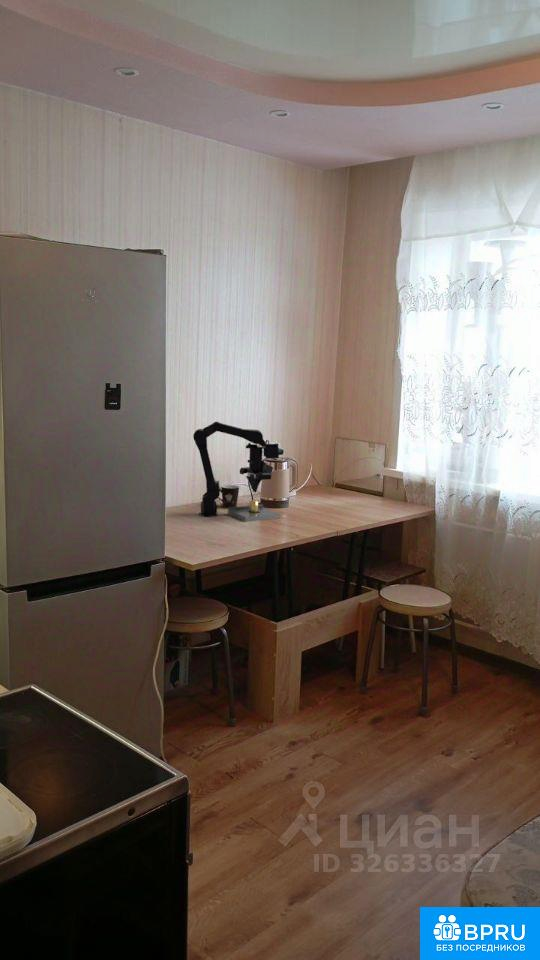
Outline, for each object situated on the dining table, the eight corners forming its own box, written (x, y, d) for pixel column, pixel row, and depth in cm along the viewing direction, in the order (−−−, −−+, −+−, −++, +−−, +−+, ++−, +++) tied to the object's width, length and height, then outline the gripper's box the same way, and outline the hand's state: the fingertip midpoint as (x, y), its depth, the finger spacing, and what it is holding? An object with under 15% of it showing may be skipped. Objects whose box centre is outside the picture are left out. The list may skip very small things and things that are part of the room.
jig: (245, 521, 345) (245, 514, 344) (227, 514, 358) (228, 507, 358) (279, 518, 355) (279, 511, 354) (261, 511, 368) (261, 504, 367)
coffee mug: (242, 507, 376) (242, 486, 374) (231, 509, 368) (232, 489, 367) (222, 503, 382) (223, 483, 380) (212, 506, 374) (212, 485, 373)
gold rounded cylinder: (252, 517, 354) (252, 502, 352) (247, 515, 357) (248, 500, 356) (259, 516, 356) (260, 501, 355) (255, 514, 359) (255, 500, 358)
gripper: (282, 460, 348) (280, 494, 351) (260, 454, 364) (259, 487, 367) (260, 461, 342) (259, 496, 345) (239, 455, 358) (238, 489, 361)
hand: (254, 492), depth 354 cm, fingers closed
